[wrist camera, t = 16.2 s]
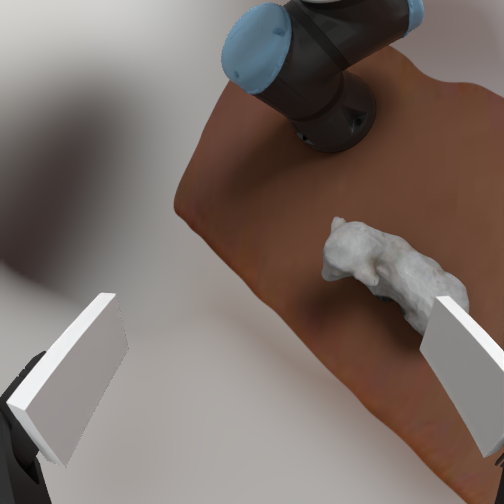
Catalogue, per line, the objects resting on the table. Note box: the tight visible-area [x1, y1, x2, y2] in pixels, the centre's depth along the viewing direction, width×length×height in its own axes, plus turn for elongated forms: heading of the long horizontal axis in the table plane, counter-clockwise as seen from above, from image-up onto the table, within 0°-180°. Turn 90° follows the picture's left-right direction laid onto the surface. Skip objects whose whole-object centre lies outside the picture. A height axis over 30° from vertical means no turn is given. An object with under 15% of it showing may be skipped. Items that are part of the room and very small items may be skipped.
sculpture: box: [322, 217, 469, 337], centre depth 32 cm, size 11×21×15 cm, turn 65°
